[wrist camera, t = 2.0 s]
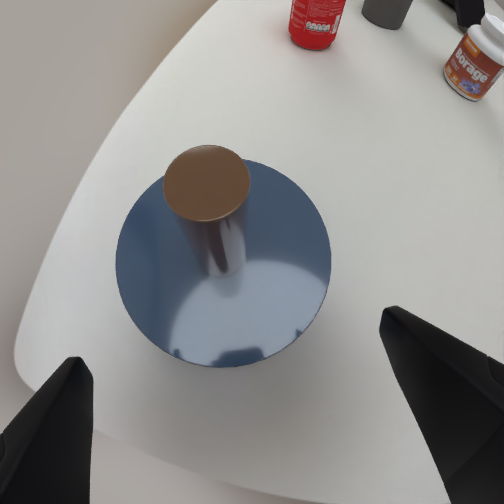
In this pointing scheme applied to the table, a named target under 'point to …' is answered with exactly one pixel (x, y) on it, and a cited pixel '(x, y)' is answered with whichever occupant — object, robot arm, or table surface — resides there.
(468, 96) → the pill bottle
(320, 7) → the beverage can
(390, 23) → the bottle
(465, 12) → the light fixture
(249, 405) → the table surface
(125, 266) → the lid
